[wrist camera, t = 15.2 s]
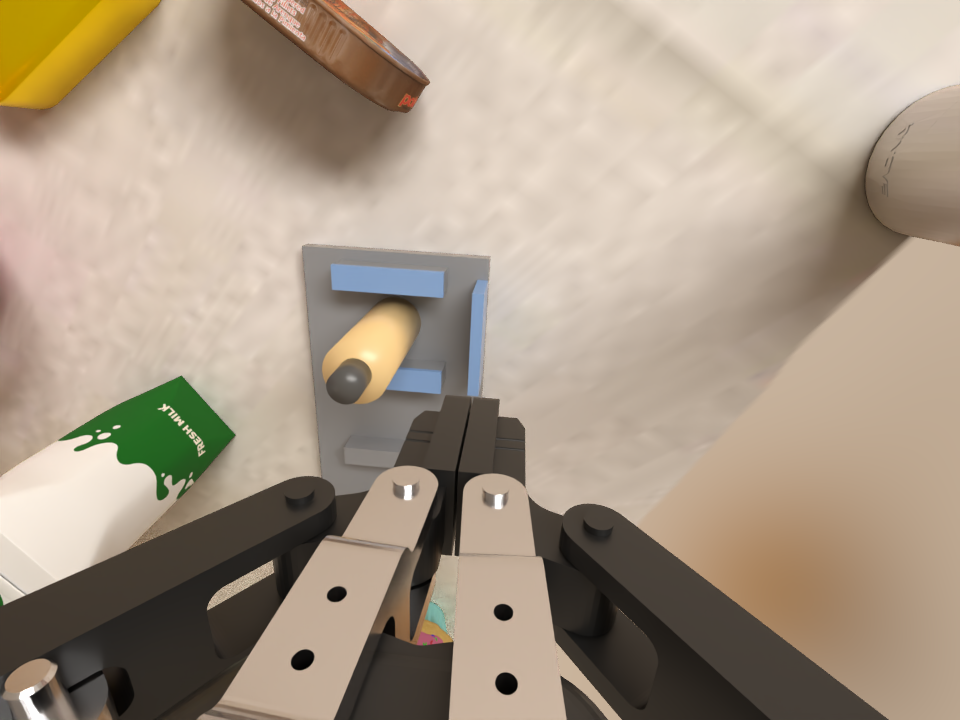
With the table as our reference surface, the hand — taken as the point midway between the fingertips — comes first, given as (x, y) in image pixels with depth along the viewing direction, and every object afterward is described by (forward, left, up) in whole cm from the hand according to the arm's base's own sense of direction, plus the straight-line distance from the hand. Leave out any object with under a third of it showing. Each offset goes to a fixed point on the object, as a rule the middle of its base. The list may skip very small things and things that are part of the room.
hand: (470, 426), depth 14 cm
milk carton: (+28, +17, -25) cm, 41 cm away
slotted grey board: (+8, +13, -25) cm, 29 cm away
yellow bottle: (+8, +5, -24) cm, 26 cm away
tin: (+12, -14, -25) cm, 31 cm away
